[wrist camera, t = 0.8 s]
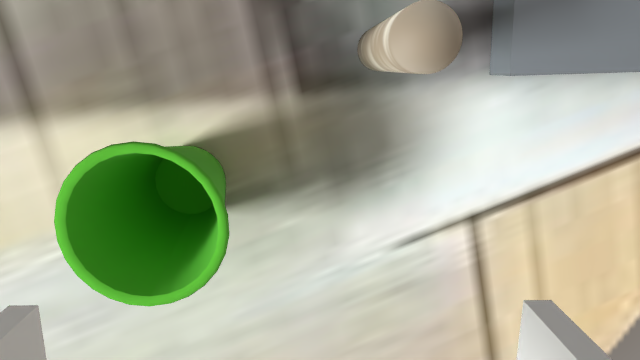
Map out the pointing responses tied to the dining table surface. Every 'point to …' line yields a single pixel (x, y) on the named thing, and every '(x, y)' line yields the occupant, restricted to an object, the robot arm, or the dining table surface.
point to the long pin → (413, 40)
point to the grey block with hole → (565, 37)
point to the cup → (144, 221)
